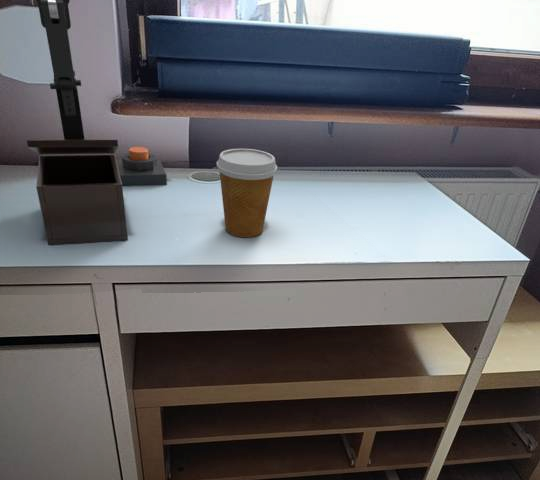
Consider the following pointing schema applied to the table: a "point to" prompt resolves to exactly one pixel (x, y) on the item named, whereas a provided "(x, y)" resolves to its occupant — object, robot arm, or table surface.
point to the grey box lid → (73, 146)
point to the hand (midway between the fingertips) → (74, 138)
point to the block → (141, 171)
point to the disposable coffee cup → (245, 189)
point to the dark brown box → (81, 198)
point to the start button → (138, 153)
